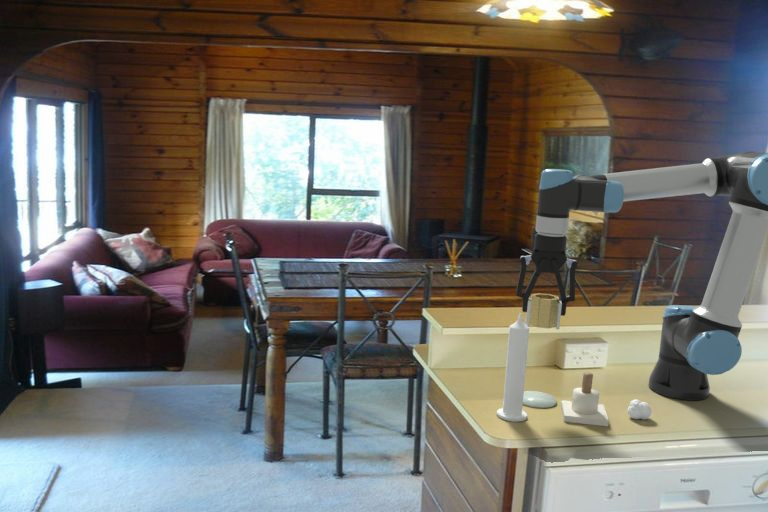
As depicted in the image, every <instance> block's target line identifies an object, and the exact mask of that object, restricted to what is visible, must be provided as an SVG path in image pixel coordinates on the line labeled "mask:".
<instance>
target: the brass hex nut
mask: <svg viewBox="0 0 768 512" xmlns="http://www.w3.org/2000/svg"><path fill="white" fill-rule="evenodd" d="M530 298H531V309H530V320H529V326H531V327H536V328H541V329H554V328H556V326H557V316H558V306H559V301H560V298H559V296H558V295H554V294H550V293H540V292H539V293H538V292H537V293H531V294H530Z"/></svg>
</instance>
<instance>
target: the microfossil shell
mask: <svg viewBox="0 0 768 512" xmlns="http://www.w3.org/2000/svg"><path fill="white" fill-rule="evenodd" d="M652 413H653V412H652V408H651V405H650V404H649V403H647V402H646V401H641V400H640V399H632V400H630V402H629V405H628V408H627V414H628V416H629V417H630V419H634V420H639V419H641V420H643V421H644V420H648V419H649V418H650V417H651V416H652Z"/></svg>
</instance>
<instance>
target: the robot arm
mask: <svg viewBox="0 0 768 512" xmlns="http://www.w3.org/2000/svg"><path fill="white" fill-rule="evenodd" d="M698 194H699V195H700V194H704V195H706V196H708V197H715V196H716V197H717V196H718V197H719V196H721V197H722V196H724V197H730V198H729V200H728V205H729V206H730V207H731V209H732V213H731V216H730V219H729V222H728V225H727V228H726V231H725V234H724V237H723V240H722V242H721V246H720V248H719V251H718V255H717V257H716V260H715V263H714V266H713V270H712V272H711V276H710V278H709V281H708V283H707V286H706V290H705V293H704V296H703V298H702V302H701V304H700V305H699V306H697V305H695V306H694V305H685V304H684V305H679V304H672V305H668V306H666V307H665V308H664V312H663V316H662V325H661V336H660V342H659V343H660V344H659V352H658V353H659V354H658V359H657V361H656V363H655V365H654V367H653V369H652V371H651V373H650V375H649V377H648V385H647V386H648V388H649V389H650V390H652V391H653V392H655V393H657V394H659V395H662V396H665V397H668V398H674V399H678V400H686V401H699V400H700V401H701V400H705V399H707V398H708V397H709V396H710V389H711V387H710V382H709V377H708V375H710V376H717V375H722V374H724V373H727V372H729V371H731V370H732V369H734V367H736V366H737V364H738V363H739V361H740V359H741V357H742V351H743V348H742V345H741V341H740V340H739V335H740V333H741V329H742V327H743V324H742V322H741V320H740V318H739V315H740V313H741V312H740V311H741V309H742V306H743V303H744V301H745V297H746V295H747V292H748V289H749V287H750V284H751V280H752V278H753V275H754V271H755V269H756V266H757V263H758V260H759V257H760V254H761V252H762V249H763V246H764V243H765V241H766V238H767V234H768V152H759V151H758V152H757V151H743V152H738V153H734V154H729V155H723V156H718V157H710V158H705V159H704V160H703V161H702V163H693V164H682V165H672V166H664V167H655V168H646V169H637V170H629V171H628V170H626V171H620V172H610V173H603V174H593V175H586V174H581V175H580V174H579V175H576V176H574V172H573V171H572V170H568V169H561V168H559V169H558V168H546V169H543V170H542V172H541V173H540V181H539V186H538V199H537V201H538V202H537V209H536V210H537V213H536V218H535V220H536V221H535V232H537V233H535V235H534V241H533V242H534V244H533V251H532V253H531V254H530V255H520V259H519V260H520V271H519V276H518V280H517V285H516V290H515V291H516V292H515V295H516V297H518V298H521V299H522V307H521V309H522V313H526V315H525V324H526V325H527V326H528V327H529V328H530V325H529V320H530V309H531V294H532V292H533V289H534V288H535V285H536V283H537V281H538V279H539V277H540V275H541V273H547V272H548V273H550V274H551V273H552V274H554V277H555V280H556V284H557V288H558V292H559V296H560V299H561V300H559V306H558V316H557V326H556V327H555V330H560V326H561V317H562V316H563V317H564V316H565V315H566V313H567V304H568V303H569V302H575V300H576V270H577V267H578V261H577V260H576V259H571V258H568V257H567V255H566V252H567V251H566V250H567V240H568V239H567V238H568V237H567V236H566V235H567V234H568V231H569V222H570V221H569V219H570V211H574V212H575V211H578V212H579V211H580V212H581V211H582V212H593V213H594V212H595V213H604V214H606V213H618V212H619V211H621V209H622V207H623V203H624V202H631V201H641V200H650V199H661V198H668V197H669V198H670V197H678V196H679V197H680V196H690V195H698ZM531 261H532V262H533V264H534V265H535V268H534V271H533V274H532V276H531V278H530V280H529V282H528V284H527V286H526V289H525V290H524V291H523V287H524V282H525V276H526V274H527V266H528V265H529V264H530V262H531ZM565 263H566V264H567V268H568V295H566V291H565V288H564V284H563V280H562V276H561V272H560V269H561V268H562V267H563V266H565Z"/></svg>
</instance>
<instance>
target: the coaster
mask: <svg viewBox="0 0 768 512" xmlns="http://www.w3.org/2000/svg"><path fill="white" fill-rule="evenodd" d="M557 402H558V400H557V398H556V397H555V396H554V395H552V394H549V393H546V392H543V391H536V390H526V391H525V390H524V395H523V405H524V406H525V407H530V408H536V409H547V408H548V409H549V408H553V407H555V406H556V405H557Z"/></svg>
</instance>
